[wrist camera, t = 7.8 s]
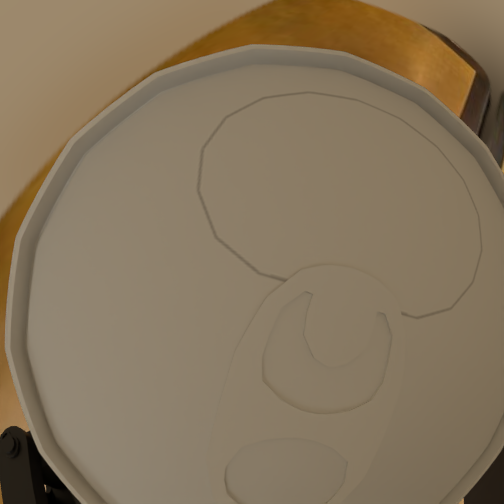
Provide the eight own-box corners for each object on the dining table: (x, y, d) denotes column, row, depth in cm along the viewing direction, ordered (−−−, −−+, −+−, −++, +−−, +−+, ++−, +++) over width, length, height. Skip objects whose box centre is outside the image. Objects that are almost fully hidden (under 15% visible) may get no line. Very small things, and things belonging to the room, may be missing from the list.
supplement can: (195, 218, 18) (126, -12, 3) (330, 259, 18) (555, 159, 4) (154, 354, 17) (-33, 486, 2) (293, 392, 17) (450, 570, 2)
